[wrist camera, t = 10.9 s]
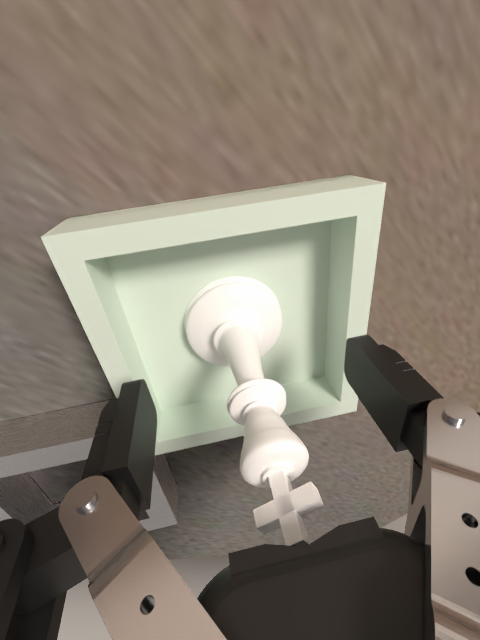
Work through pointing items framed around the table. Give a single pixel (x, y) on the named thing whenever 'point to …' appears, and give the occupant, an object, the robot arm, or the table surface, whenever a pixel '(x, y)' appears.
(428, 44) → the table surface
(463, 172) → the table surface
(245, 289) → the chess piece
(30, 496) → the collar block
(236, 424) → the tray
